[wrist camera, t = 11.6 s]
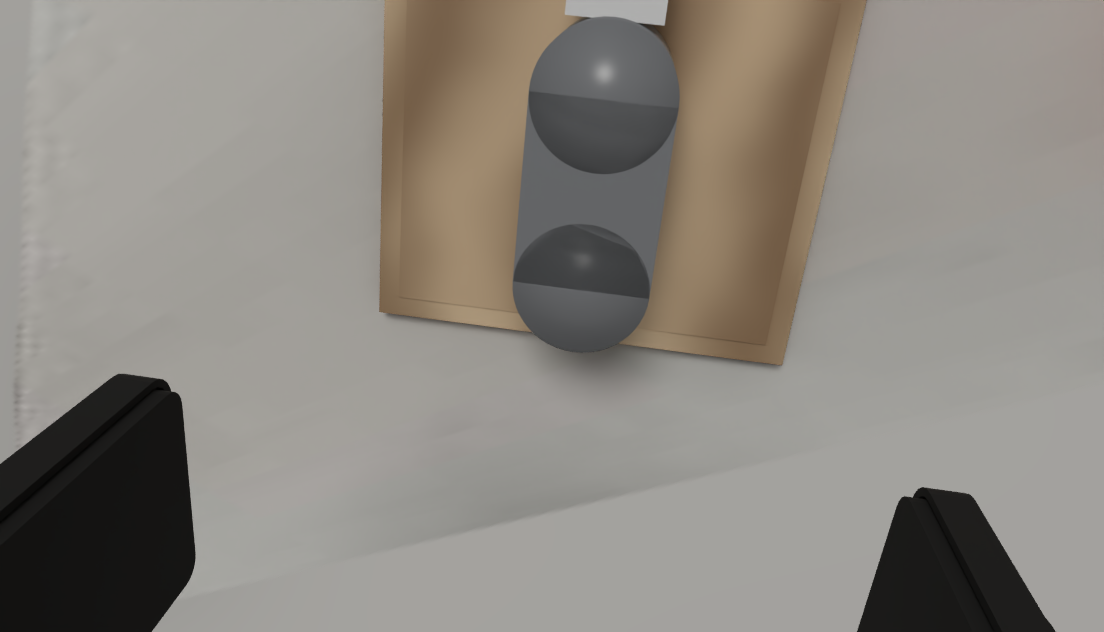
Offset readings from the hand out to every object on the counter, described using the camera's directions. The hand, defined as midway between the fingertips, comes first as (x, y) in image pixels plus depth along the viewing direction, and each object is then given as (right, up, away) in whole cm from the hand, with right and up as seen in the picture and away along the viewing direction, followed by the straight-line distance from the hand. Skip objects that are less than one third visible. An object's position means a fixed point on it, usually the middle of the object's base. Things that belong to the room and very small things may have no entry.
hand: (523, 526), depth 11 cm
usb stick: (+2, +9, +19) cm, 21 cm away
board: (+2, +9, +20) cm, 22 cm away
